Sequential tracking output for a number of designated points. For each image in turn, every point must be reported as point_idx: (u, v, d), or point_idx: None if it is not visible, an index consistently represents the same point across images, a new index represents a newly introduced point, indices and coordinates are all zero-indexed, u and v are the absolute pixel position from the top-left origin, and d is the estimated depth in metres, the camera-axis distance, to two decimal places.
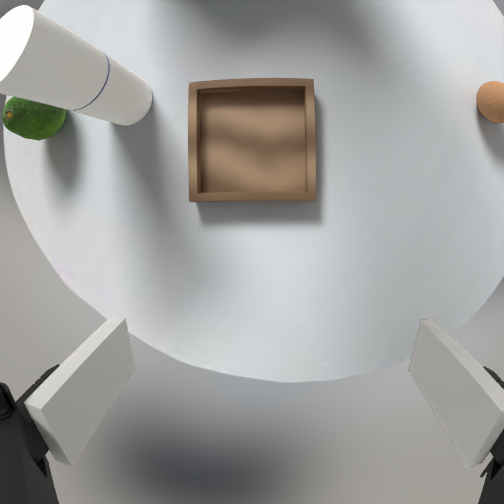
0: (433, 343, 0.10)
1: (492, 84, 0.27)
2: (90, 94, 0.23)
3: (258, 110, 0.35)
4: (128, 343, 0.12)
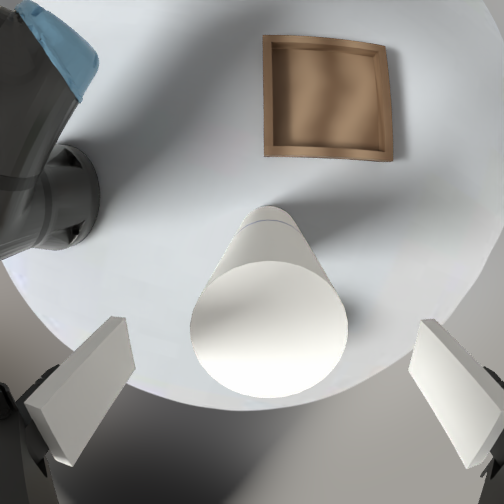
0: (433, 343, 0.10)
1: None
2: (304, 238, 0.23)
3: (295, 89, 0.32)
4: (128, 343, 0.12)
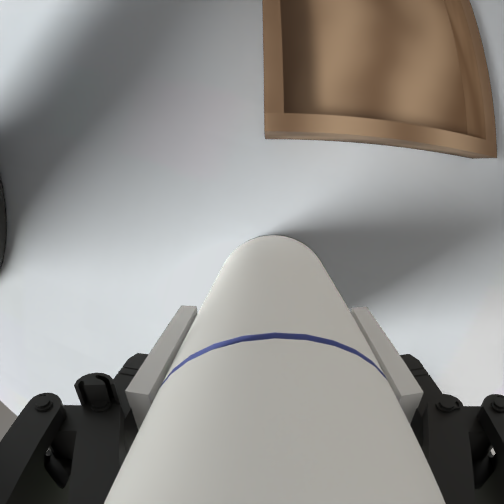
0: None
1: None
2: (397, 402, 0.06)
3: (322, 19, 0.15)
4: None
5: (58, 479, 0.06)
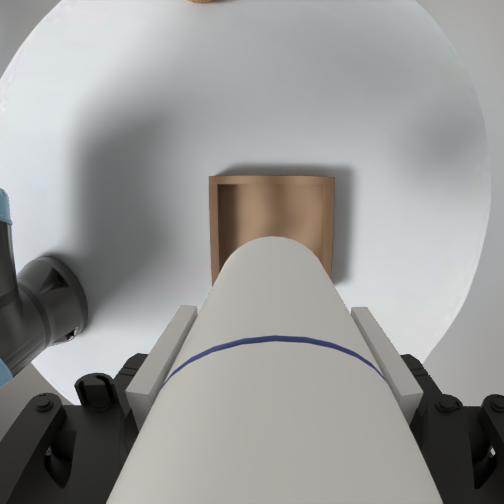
0: None
1: None
2: (396, 405, 0.06)
3: (242, 228, 0.39)
4: None
5: (58, 479, 0.06)
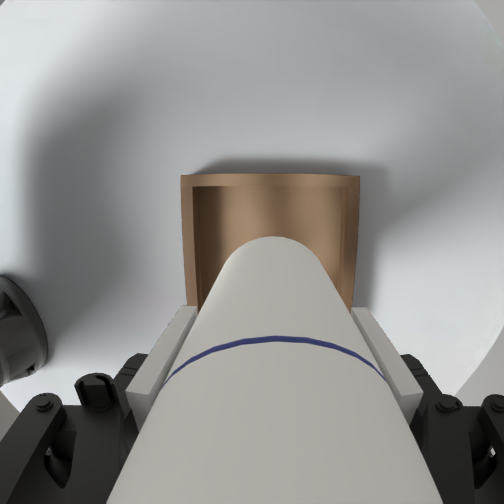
0: None
1: None
2: (396, 405, 0.06)
3: (229, 247, 0.28)
4: None
5: (58, 479, 0.06)
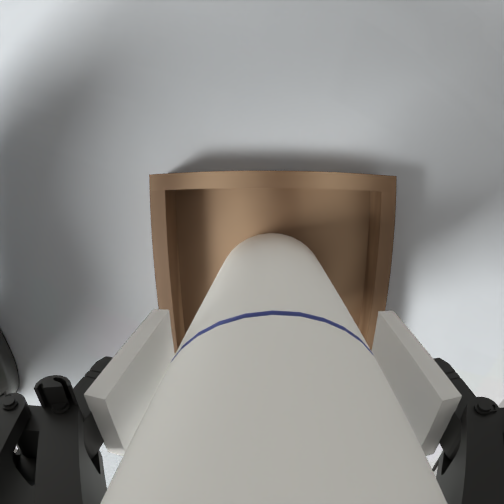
0: (387, 333, 0.12)
1: None
2: (382, 373, 0.07)
3: (217, 271, 0.21)
4: (170, 334, 0.14)
5: (28, 477, 0.05)
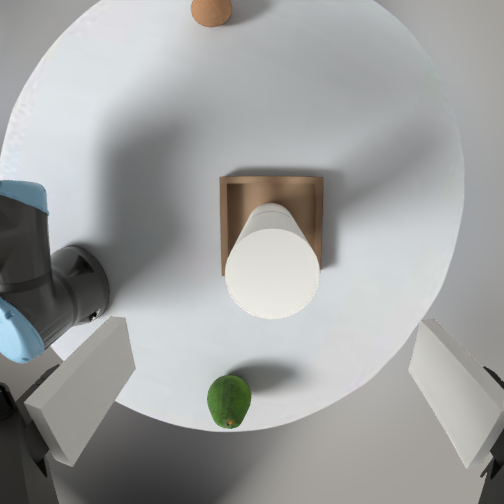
0: (433, 343, 0.10)
1: (196, 14, 0.35)
2: None
3: (246, 219, 0.47)
4: (128, 343, 0.12)
5: None
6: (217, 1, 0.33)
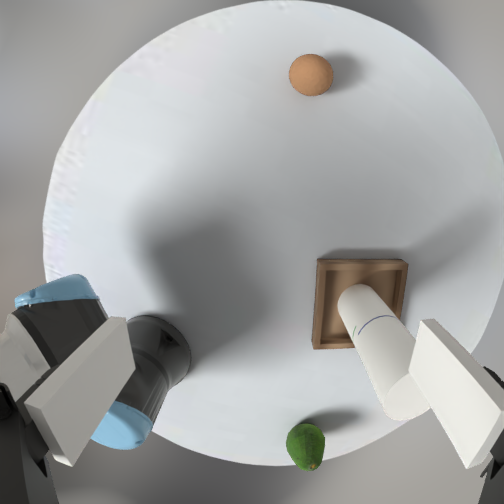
0: (433, 343, 0.10)
1: (299, 83, 0.38)
2: None
3: (337, 299, 0.49)
4: (128, 343, 0.12)
5: None
6: (325, 73, 0.35)
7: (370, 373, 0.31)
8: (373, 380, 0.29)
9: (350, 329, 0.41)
